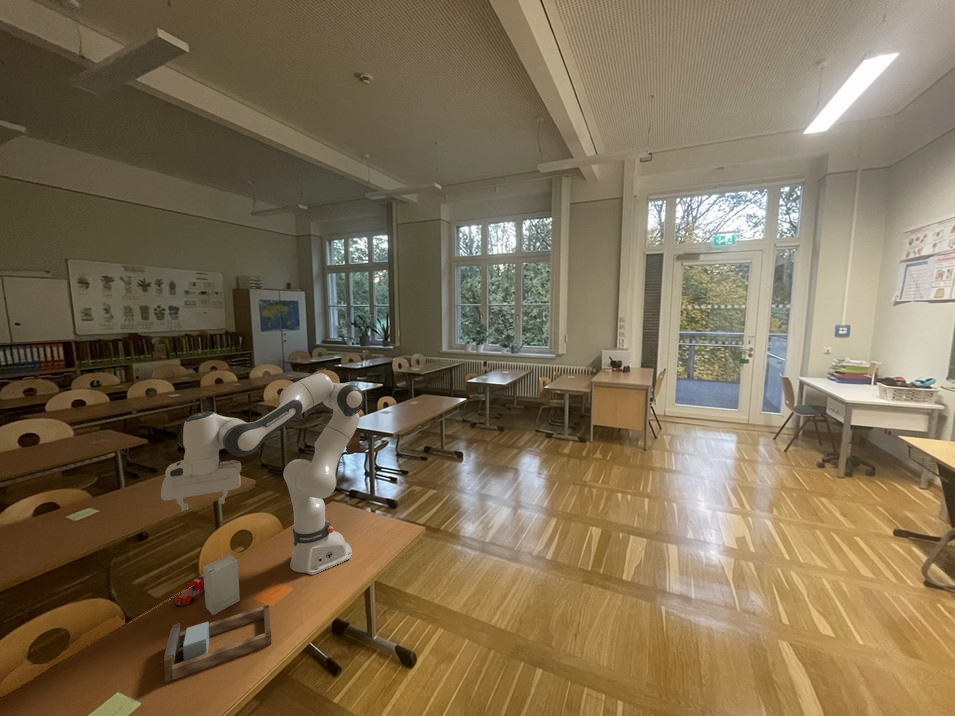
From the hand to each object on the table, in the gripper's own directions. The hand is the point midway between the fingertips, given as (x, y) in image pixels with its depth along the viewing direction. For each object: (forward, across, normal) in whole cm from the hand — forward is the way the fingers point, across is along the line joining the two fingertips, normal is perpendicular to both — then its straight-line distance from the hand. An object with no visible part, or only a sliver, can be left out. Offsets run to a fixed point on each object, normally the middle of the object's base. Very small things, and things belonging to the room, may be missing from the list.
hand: (203, 506), depth 120 cm
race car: (+35, +4, -10) cm, 36 cm away
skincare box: (+34, -4, +1) cm, 35 cm away
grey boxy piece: (+34, +1, +19) cm, 39 cm away
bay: (+34, -5, +19) cm, 39 cm away
